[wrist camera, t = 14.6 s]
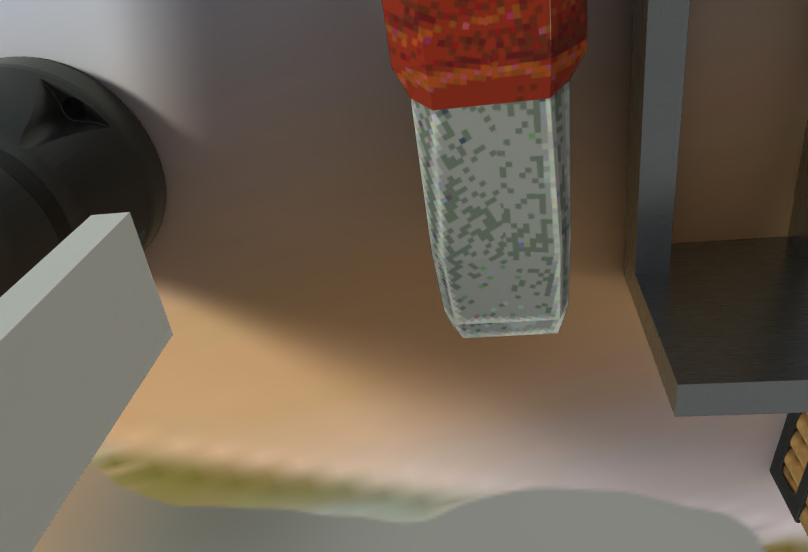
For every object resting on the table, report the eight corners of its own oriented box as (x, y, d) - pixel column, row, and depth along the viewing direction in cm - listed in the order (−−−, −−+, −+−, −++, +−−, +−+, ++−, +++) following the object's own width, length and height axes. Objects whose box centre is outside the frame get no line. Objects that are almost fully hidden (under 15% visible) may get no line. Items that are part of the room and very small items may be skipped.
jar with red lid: (279, -561, 14) (441, 431, 31) (602, -645, 13) (588, 426, 30) (381, -384, 30) (452, 213, 47) (533, -416, 29) (549, 205, 46)
